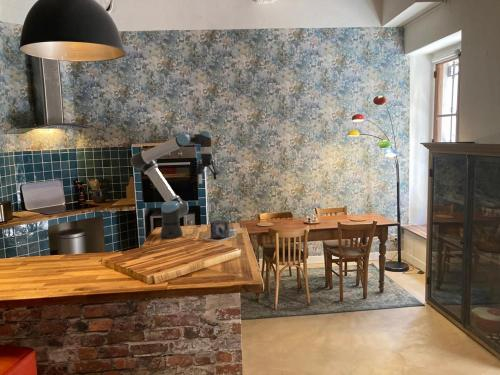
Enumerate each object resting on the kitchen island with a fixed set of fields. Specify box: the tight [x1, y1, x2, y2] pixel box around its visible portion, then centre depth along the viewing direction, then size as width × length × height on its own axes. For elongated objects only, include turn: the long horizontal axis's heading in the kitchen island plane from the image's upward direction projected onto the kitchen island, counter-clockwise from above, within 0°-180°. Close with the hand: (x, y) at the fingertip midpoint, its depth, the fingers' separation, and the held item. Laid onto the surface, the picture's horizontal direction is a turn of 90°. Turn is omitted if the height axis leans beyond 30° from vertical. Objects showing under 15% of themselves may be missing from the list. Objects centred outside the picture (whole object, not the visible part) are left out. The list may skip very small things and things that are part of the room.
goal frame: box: [203, 235, 236, 243], centre depth 271 cm, size 13×16×1 cm
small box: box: [209, 220, 229, 240], centre depth 270 cm, size 11×6×10 cm, turn 73°
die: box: [229, 228, 238, 237], centre depth 278 cm, size 4×4×4 cm
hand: (207, 184), depth 285 cm, fingers open, 13 cm apart
